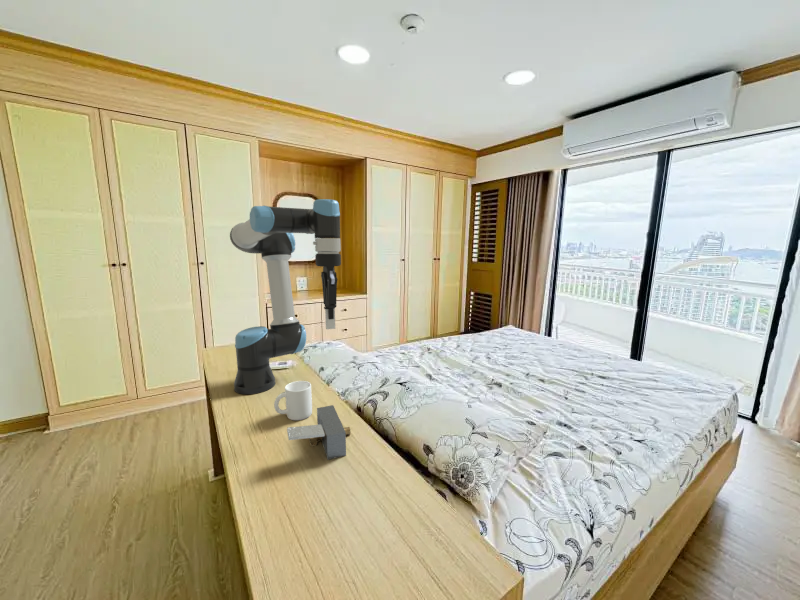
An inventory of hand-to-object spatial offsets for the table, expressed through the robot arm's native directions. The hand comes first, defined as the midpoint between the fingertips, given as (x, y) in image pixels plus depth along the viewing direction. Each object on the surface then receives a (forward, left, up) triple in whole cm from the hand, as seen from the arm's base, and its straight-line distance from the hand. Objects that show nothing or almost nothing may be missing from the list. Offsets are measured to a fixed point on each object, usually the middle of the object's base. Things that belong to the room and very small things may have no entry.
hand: (330, 328), depth 105 cm
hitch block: (+13, -3, -30) cm, 33 cm away
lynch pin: (+11, -3, -31) cm, 33 cm away
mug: (-6, -12, -31) cm, 33 cm away
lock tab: (+18, -11, -23) cm, 31 cm away
